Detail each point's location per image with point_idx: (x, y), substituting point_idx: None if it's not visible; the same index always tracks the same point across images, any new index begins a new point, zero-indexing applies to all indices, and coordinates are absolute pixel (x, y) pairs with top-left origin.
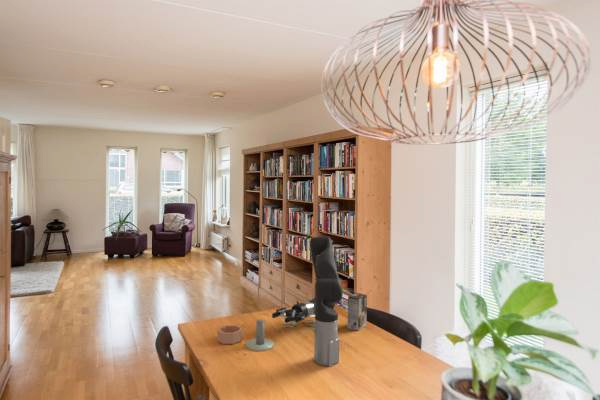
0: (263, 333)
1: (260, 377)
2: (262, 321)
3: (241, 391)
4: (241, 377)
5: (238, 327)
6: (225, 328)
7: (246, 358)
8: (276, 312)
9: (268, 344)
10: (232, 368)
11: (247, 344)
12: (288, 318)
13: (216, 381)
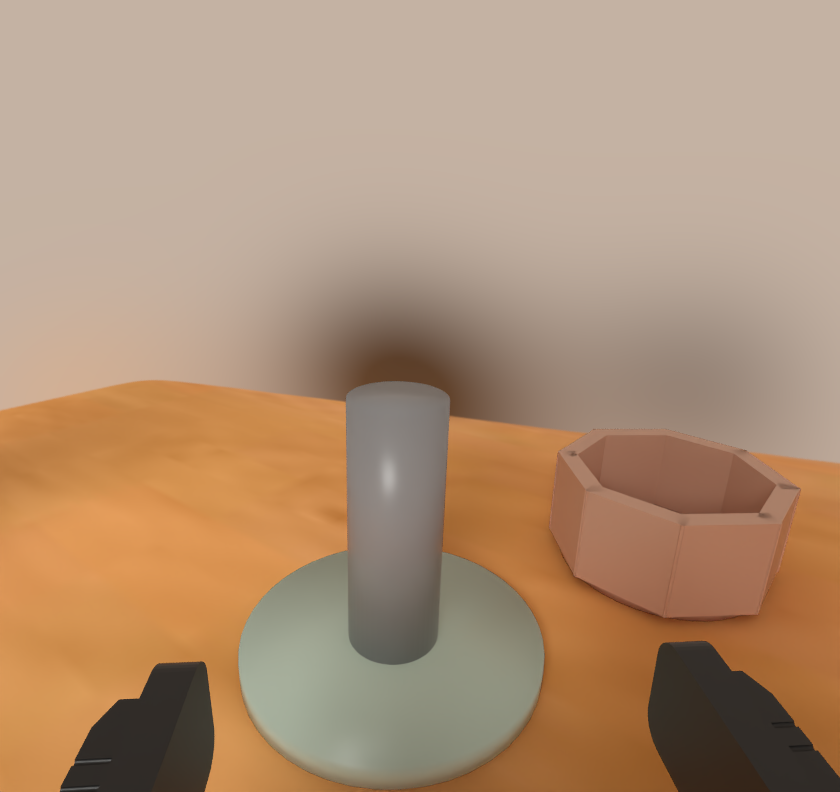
0: (347, 532)
1: (52, 455)
2: (364, 398)
3: (80, 400)
4: (151, 427)
5: (703, 515)
6: (757, 492)
7: (281, 499)
8: (749, 741)
9: (301, 668)
10: (255, 437)
11: (447, 558)
12: (120, 752)
13: (227, 392)
